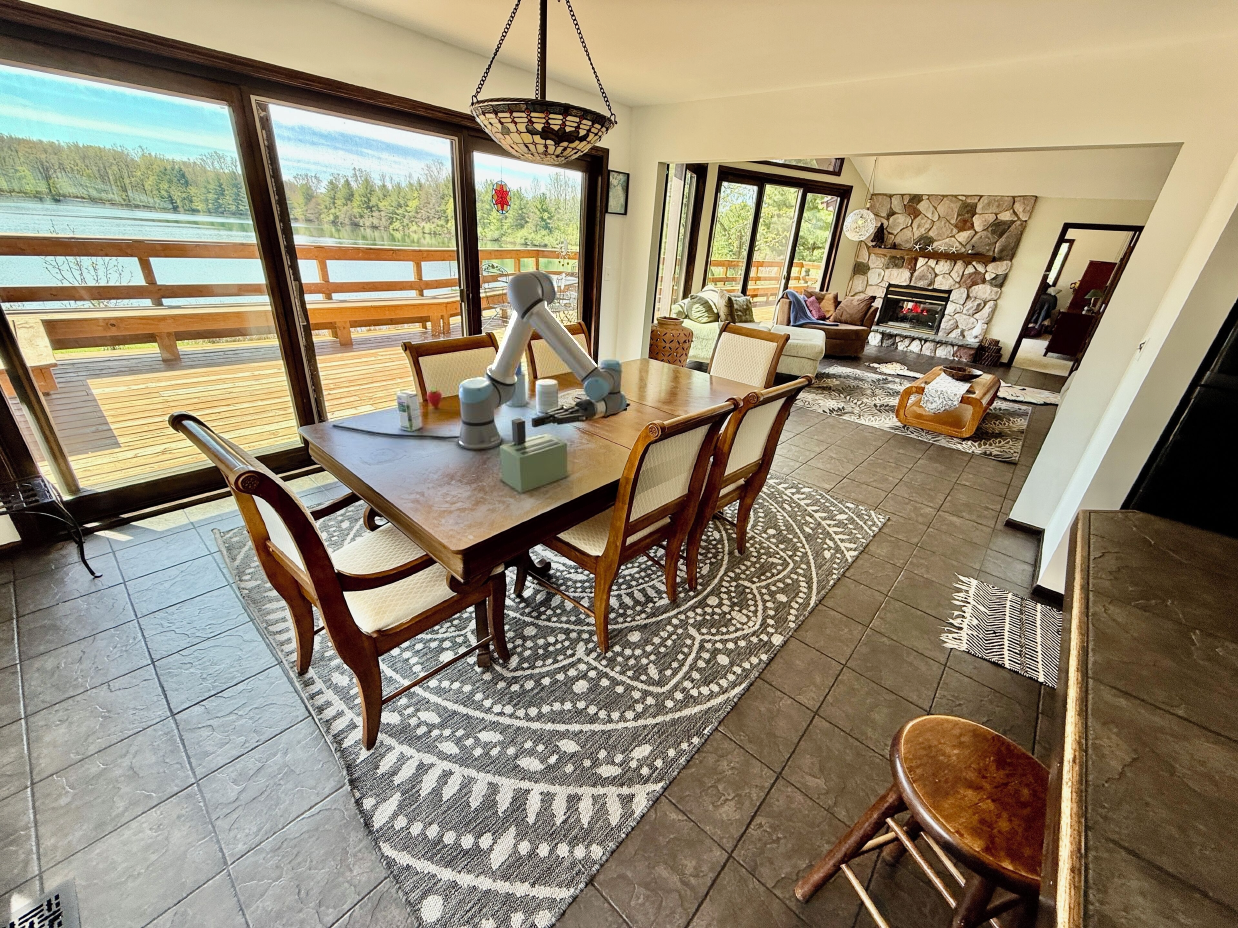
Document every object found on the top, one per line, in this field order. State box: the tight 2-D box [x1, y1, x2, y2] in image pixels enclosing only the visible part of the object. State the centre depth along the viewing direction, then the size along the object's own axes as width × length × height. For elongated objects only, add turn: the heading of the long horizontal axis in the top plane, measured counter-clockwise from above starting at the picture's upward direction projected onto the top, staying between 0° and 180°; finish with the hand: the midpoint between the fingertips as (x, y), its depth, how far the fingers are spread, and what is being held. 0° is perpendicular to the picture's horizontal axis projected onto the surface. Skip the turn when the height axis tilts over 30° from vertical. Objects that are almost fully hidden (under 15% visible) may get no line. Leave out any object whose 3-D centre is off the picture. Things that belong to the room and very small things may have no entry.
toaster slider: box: [511, 417, 527, 445], centre depth 150 cm, size 3×3×8 cm
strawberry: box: [426, 387, 443, 409], centre depth 211 cm, size 6×8×10 cm
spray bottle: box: [506, 360, 527, 407], centre depth 218 cm, size 9×9×25 cm
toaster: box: [499, 432, 568, 494], centre depth 154 cm, size 18×11×12 cm, turn 134°
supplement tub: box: [535, 378, 559, 417], centre depth 209 cm, size 10×10×15 cm
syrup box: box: [395, 390, 422, 432], centre depth 187 cm, size 6×6×14 cm
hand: (533, 423), depth 153 cm, fingers closed
